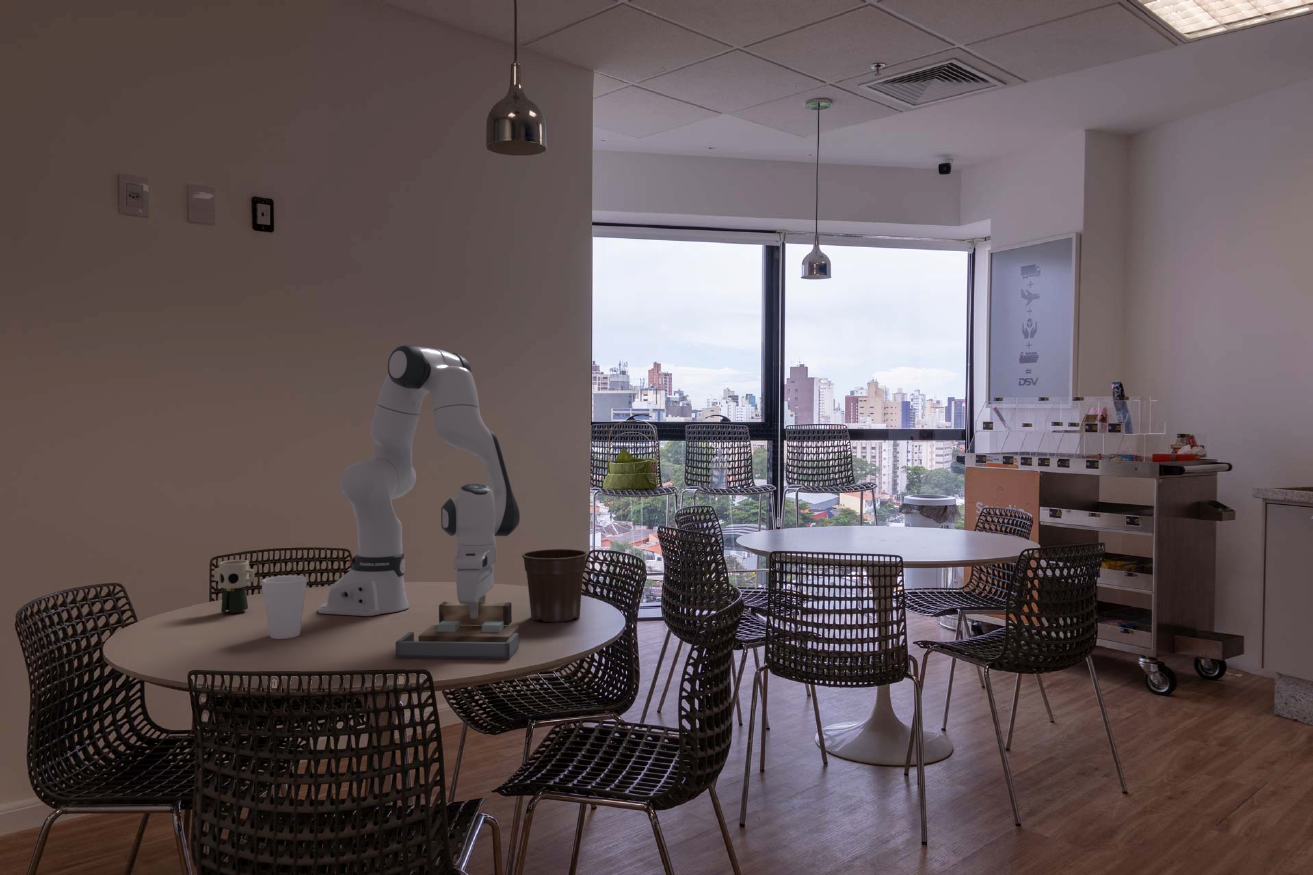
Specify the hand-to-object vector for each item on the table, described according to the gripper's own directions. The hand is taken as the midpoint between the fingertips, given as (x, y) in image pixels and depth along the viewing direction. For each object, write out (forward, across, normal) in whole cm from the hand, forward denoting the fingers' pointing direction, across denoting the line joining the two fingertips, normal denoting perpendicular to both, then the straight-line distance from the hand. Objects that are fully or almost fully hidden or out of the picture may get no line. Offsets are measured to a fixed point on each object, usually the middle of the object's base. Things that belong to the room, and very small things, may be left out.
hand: (477, 615), depth 212 cm
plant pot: (+5, -18, +15) cm, 24 cm away
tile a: (+2, +6, -5) cm, 8 cm away
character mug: (+5, -20, -68) cm, 71 cm away
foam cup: (+5, +3, -44) cm, 44 cm away
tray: (+4, +16, 0) cm, 17 cm away
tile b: (+2, +6, +5) cm, 8 cm away
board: (+4, +7, 0) cm, 8 cm away
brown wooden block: (+2, 0, 0) cm, 2 cm away
